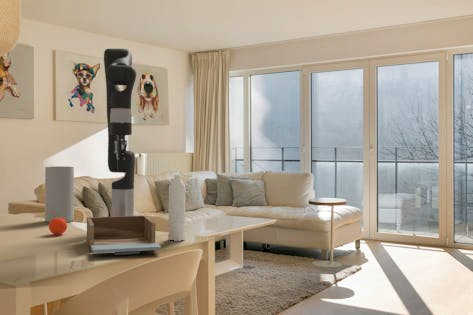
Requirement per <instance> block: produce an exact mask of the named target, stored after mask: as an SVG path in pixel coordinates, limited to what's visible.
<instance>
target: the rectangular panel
mask: <svg viewBox="0 0 473 315" xmlns="http://www.w3.org/2000/svg"><path fill="white" fill-rule="evenodd" d="M91 249H92V251H93V252H92V254H103V253H114V255H115V256H120V255H121V256H122V255H140V254H141V251H143V252H144V251H159V250H162V246H161V245H160V244H159V243H157V242H156V241H155V242H153V243H131V244H110V245H91Z"/></svg>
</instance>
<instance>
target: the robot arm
mask: <svg viewBox="0 0 473 315" xmlns="http://www.w3.org/2000/svg"><path fill="white" fill-rule="evenodd" d="M103 52H104V53H103V66H104V67H103V68H104V75H105V77H104V78H105V87H106V90H105V91H106V119H107V137H108V138H107V140H108V142H107V166H108V171H109V172H111V173H122V174H123V173H125V175H124V176H123V177H121V178H120V179H118V180H115V181H112V182H111V211H110V212H111V213H110V214H111V216H110V217H116V216H135V214H134V213H135V212H134V211H135V210H134V209H135V206H134V205H135V187H134V186H135V168H136V167H135V166H136V156H135V152H133V151H132V150H127V146H128V140H126V136H131V135H132V134H133V133H132V129H133V128H132V125H133V123H132V121H133V120H132V119H133V118H132V117H133V116H132V115H133V114H132V93H133V89H134V86H135V83H136V79H137V71H136V68H135V67H134V66H132V65H133V57H132V53H131V51H130V50H129V49H128V48H105V50H104V51H103ZM119 86H125V88H124V89H123V90H121V88H120V87H119Z"/></svg>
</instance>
